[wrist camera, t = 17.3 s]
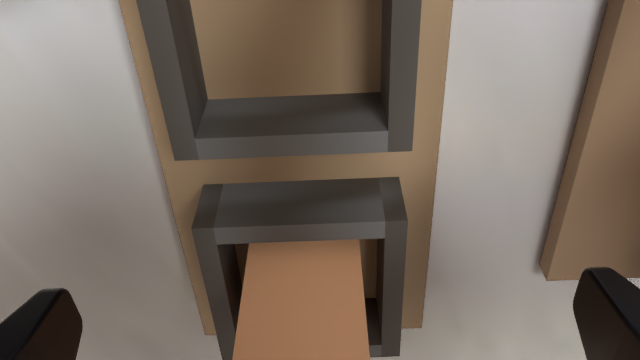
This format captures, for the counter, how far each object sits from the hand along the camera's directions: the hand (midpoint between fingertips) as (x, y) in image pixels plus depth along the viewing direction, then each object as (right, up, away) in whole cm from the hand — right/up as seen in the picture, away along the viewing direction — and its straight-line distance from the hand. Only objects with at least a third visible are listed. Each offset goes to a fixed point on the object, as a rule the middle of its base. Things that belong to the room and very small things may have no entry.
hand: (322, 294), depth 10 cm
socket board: (-1, +4, +7) cm, 8 cm away
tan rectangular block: (0, 0, +8) cm, 8 cm away
